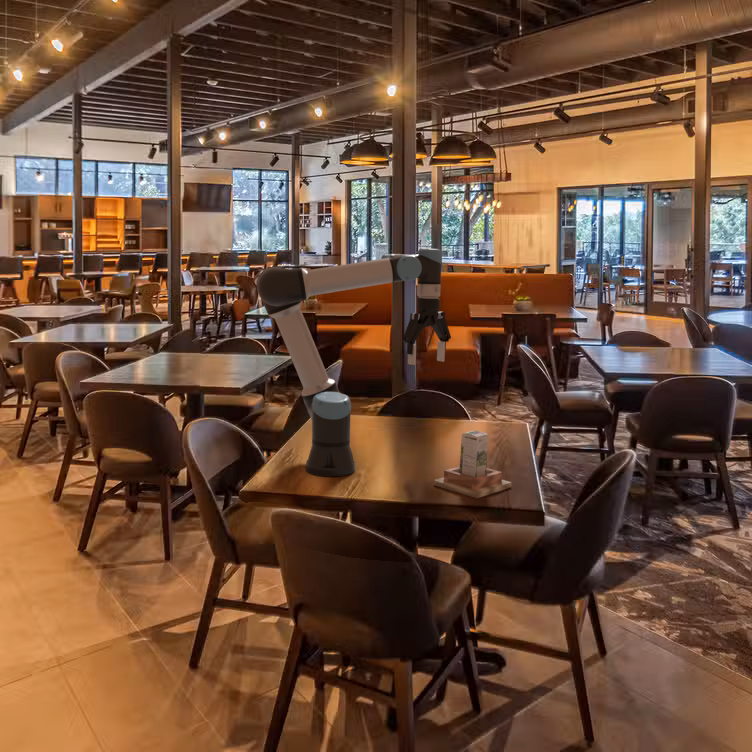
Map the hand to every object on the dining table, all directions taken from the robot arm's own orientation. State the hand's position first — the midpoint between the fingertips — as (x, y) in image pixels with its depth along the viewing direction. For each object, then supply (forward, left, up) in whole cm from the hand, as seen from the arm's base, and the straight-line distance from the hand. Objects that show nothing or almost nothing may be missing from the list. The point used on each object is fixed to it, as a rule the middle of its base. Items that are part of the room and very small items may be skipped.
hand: (426, 362), depth 259 cm
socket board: (-13, -31, -31) cm, 46 cm away
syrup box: (-13, -31, -30) cm, 45 cm away
